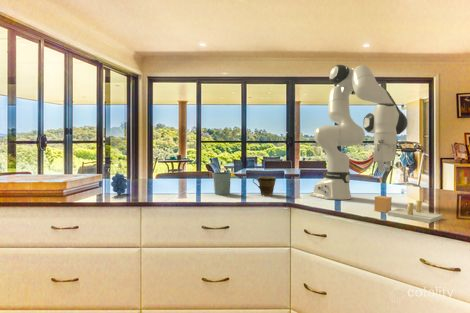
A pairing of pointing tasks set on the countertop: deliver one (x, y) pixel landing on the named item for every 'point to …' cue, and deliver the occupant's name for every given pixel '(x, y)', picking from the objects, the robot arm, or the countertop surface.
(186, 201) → the countertop surface
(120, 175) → the grapes
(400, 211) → the plate
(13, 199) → the countertop surface
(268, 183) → the ceramic cup
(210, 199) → the countertop surface
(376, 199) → the orange-brown wooden block
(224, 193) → the grey green pot
